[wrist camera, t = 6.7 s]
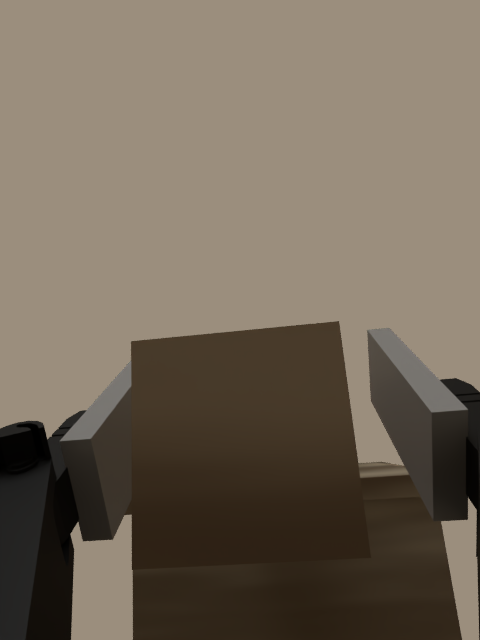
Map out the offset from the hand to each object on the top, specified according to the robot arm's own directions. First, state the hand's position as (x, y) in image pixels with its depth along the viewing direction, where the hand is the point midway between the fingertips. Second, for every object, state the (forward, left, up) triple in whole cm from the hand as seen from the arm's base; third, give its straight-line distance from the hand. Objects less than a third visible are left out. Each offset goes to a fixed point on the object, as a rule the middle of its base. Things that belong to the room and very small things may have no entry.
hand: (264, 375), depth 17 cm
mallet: (-1, +1, -4) cm, 4 cm away
